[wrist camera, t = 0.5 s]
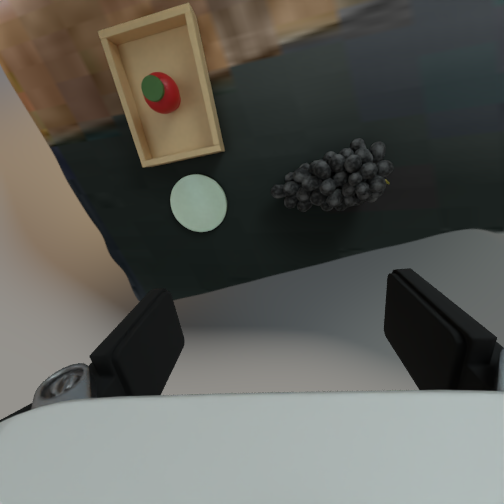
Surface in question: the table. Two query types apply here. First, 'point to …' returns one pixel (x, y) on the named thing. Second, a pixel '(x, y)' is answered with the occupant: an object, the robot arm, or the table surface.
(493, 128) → the table surface
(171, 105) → the strawberry
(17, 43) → the table surface
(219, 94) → the table surface
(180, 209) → the coaster
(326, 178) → the fruit
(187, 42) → the tray
